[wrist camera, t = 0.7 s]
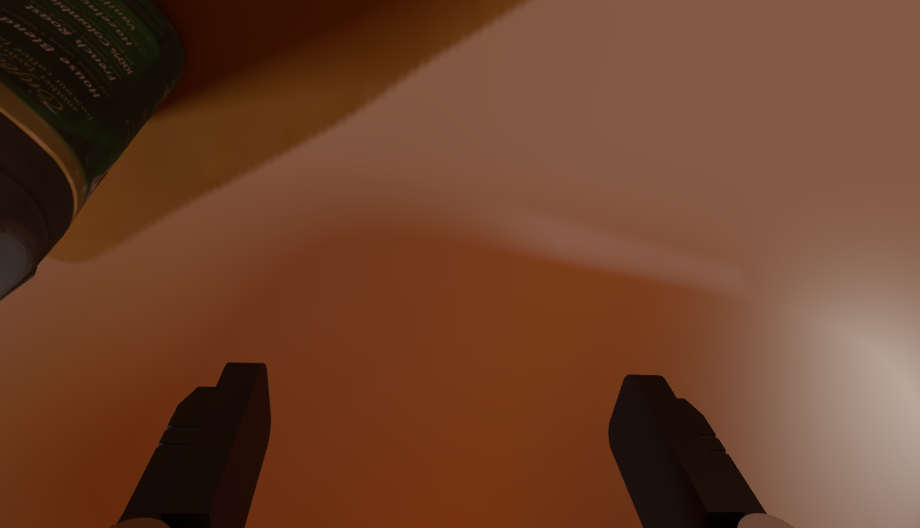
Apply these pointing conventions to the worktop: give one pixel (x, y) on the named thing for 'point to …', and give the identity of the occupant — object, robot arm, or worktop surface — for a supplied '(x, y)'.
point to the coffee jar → (71, 110)
